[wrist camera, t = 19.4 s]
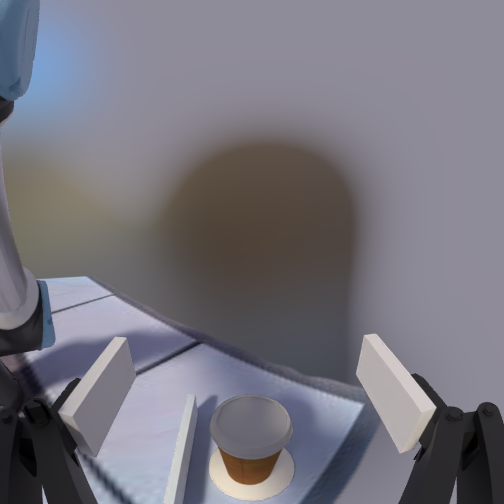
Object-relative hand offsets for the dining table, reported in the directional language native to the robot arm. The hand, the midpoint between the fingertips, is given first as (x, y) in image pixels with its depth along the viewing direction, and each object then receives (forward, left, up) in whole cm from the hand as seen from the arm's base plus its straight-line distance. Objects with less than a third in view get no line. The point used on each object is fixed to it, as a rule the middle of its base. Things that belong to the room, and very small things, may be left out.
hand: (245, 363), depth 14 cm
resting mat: (-9, +3, -28) cm, 29 cm away
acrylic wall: (-11, -6, -28) cm, 31 cm away
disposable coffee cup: (-8, +3, -28) cm, 29 cm away
